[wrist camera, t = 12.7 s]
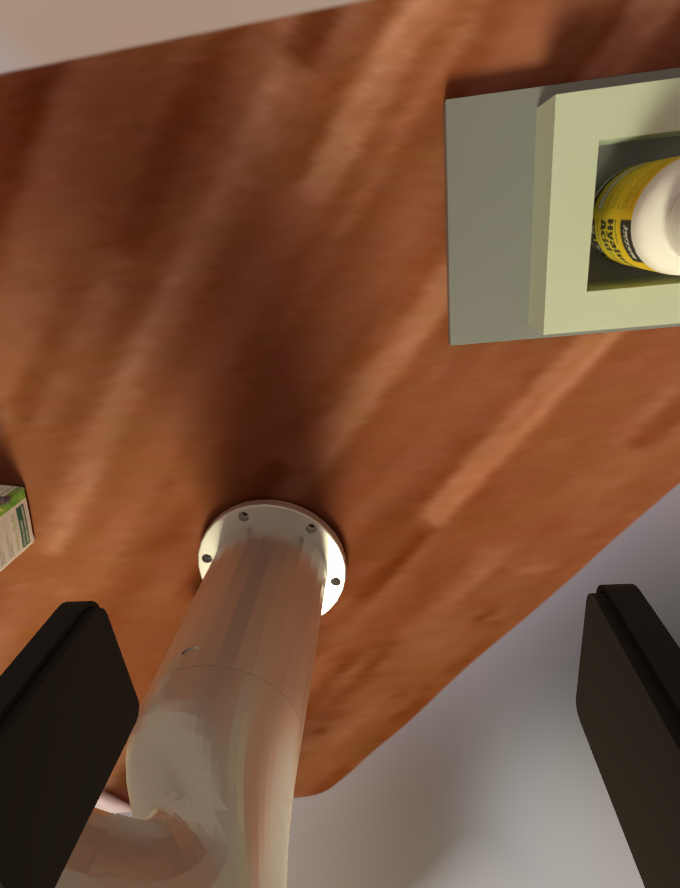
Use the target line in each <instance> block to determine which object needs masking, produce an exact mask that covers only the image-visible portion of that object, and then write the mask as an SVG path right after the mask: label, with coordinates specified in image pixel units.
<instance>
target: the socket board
mask: <svg viewBox="0 0 680 888" xmlns="http://www.w3.org/2000/svg"><path fill="white" fill-rule="evenodd" d="M443 105H444V152H445V199H446V247H447V294H448V341H449V344H450V345H463V344H475V343H486V342H498V341H510V340H522V339H534V338H546V337H557V336H569V335H581V334H593V333H605V332H616V331H628V330H640V329H652V328H664V327H675V326H680V275H668V274H663V273H658V272H654V271H650V270H646V269H640V268H637V267H632V266H628V265H623V264H619V263H615V262H612V261H609V260H607V259H605V258H604V257H602V256H601V255H600V254H598V253H597V252H596V250H595V249H594V248H593V246H592V245H591V232H592V220H593V208H594V196H595V195H596V193H597V192H598V190H599V189H600V187H601V186H602V185H603V184H604V183H605V182H606V181H607V180H608V179H609V178H610V177H612V176H613V175H614V174H616V173H617V172H619V171H621V170H623V169H625V168H627V167H630V166H633V165H636V164H640V163H645V162H651V161H656V160H661V159H667V158H672V157H677V156H680V67H679V68H672V69H664V70H657V71H650V72H643V73H635V74H628V75H621V76H614V77H606V78H599V79H592V80H585V81H577V82H570V83H563V84H556V85H548V86H541V87H534V88H527V89H520V90H512V91H505V92H498V93H491V94H483V95H476V96H469V97H462V98H454V99H447V100H445V102H444V104H443Z"/></svg>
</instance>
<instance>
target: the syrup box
mask: <svg viewBox="0 0 680 888" xmlns="http://www.w3.org/2000/svg"><path fill="white" fill-rule="evenodd" d="M34 540H35V539H34V535H33V532H32V526H31V520H30V515H29V510H28V505H27V500H26V496H25V490H24V488H23V487H18V486H9V485H0V571H2V570H3V569H4V568H5V567H6V566H7V565H8V564H9V563H10V562H12V561H13V560H14V559H15V558H16V557H17V556H18V555H19V554H21V553H22V552H23V551H24V550H25V549H26V548H28V547H29V546H30V545H31V544H32V543H33V542H34Z"/></svg>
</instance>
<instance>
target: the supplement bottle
mask: <svg viewBox="0 0 680 888" xmlns="http://www.w3.org/2000/svg"><path fill="white" fill-rule="evenodd" d="M591 245H592V246H593V248H594V249H595V250H596V252H597V253H598V254H600V255H601V256H602V257H604V258H605V259H607V260H609V261H612V262H615V263H619V264H623V265H628V266H632V267H637V268H640V269H646V270H650V271H654V272H658V273H663V274H668V275H680V156H677V157H672V158H667V159H661V160H656V161H651V162H645V163H640V164H636V165H633V166H630V167H627V168H625V169H623V170H621V171H619V172H617V173H616V174H614V175H613V176H612V177H610V178H609V179H608V180H607V181H606V182H605V183H604V184H603V185H602V186H601V187H600V189H599V190H598V192H597V193H596V195H595V196H594V208H593V220H592V232H591Z"/></svg>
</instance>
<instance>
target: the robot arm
mask: <svg viewBox="0 0 680 888" xmlns="http://www.w3.org/2000/svg"><path fill="white" fill-rule="evenodd" d="M311 524H313V525H311ZM198 566H199V571H200V575H201V578H202V582H201V584H200V586H199V588H198V590H197V592H196V594H195V596H194V598H193V600H192V602H191V604H190V606H189V608H188V610H187V612H186V614H185V616H184V618H183V620H182V622H181V624H180V626H179V628H178V630H177V632H176V634H175V636H174V638H173V640H172V642H171V644H170V646H169V648H168V650H167V652H166V654H165V656H164V658H163V660H162V662H161V664H160V666H159V668H158V670H157V672H156V674H155V676H154V678H153V680H152V682H151V684H150V686H149V688H148V690H147V692H146V694H145V696H144V698H143V700H142V702H141V704H140V706H139V701H138V698H137V696H136V693H135V690H134V687H133V684H132V682H131V679H130V676H129V673H128V671H127V668H126V665H125V662H124V659H123V657H122V654H121V651H120V648H119V646H118V643H117V640H116V637H115V635H114V632H113V629H112V626H111V623H110V621H109V618H108V615H107V613H106V611H105V610H104V609H103V608H100V607H99V605H98V604H97V603H96V602H94V601H78V602H65V603H62V604H61V605H60V606H59V607H58V608H57V609H56V610H55V612H54V613H53V614H52V615H51V616H50V618H49V619H48V620H47V621H46V622H45V624H44V625H43V626H42V627H41V628H40V630H39V631H38V632H37V633H36V634H35V636H34V637H33V638H32V639H31V640H30V641H29V643H28V644H27V645H26V646H25V647H24V649H23V650H22V651H21V652H20V653H19V655H18V656H17V657H16V658H15V659H14V661H13V662H12V663H11V664H10V665H9V667H8V668H7V669H6V670H5V671H4V673H3V674H2V675H1V676H0V888H287V861H288V843H289V832H290V822H291V811H292V802H293V796H294V788H295V781H296V774H297V767H298V760H299V754H300V747H301V741H302V734H303V729H304V723H305V716H306V710H307V704H308V697H309V691H310V684H311V678H312V671H313V665H314V659H315V652H316V646H317V639H318V633H319V626H320V620H321V616H322V615H323V614H325V613H326V612H327V611H329V610H330V609H331V608H332V606H333V605H334V604H335V603H336V602H337V601H338V599H339V597H340V595H341V593H342V591H343V588H344V584H345V580H346V571H347V565H346V556H345V553H344V549H343V546H342V544H341V542H340V540H339V539H338V537H337V535H336V533H335V532H334V531H333V530H332V529H331V528H330V527H329V525H328V524H327V523H326V522H324V521H323V520H322V519H321V518H319V517H318V516H317V515H316V514H314V513H312V512H310V511H309V510H307V509H305V508H303V507H301V506H298V505H295V504H292V503H289V502H284V501H279V500H254V501H247V502H244V503H241V504H238V505H235V506H233V507H231V508H229V509H228V510H226V511H224V512H223V513H221V514H220V515H219V516H218V517H217V518H216V519H215V520H214V521H213V522H212V523H211V525H210V526H209V528H208V529H207V531H206V533H205V535H204V537H203V539H202V541H201V543H200V548H199V552H198ZM576 705H577V712H578V716H579V719H580V722H581V724H582V727H583V730H584V732H585V735H586V737H587V740H588V743H589V745H590V748H591V750H592V753H593V755H594V758H595V761H596V763H597V766H598V768H599V771H600V773H601V776H602V778H603V781H604V784H605V786H606V789H607V791H608V794H609V796H610V799H611V802H612V804H613V806H614V809H615V811H616V814H617V817H618V819H619V822H620V825H621V827H622V830H623V832H624V835H625V837H626V840H627V843H628V845H629V848H630V850H631V853H632V855H633V858H634V860H635V863H636V866H637V868H638V871H639V873H640V876H641V878H642V881H643V883H644V886H645V888H680V648H679V647H678V645H677V644H676V642H675V641H674V639H673V638H672V636H671V635H670V634H669V632H668V631H667V629H666V628H665V626H664V625H663V623H662V622H661V621H660V619H659V617H658V616H657V615H656V613H655V612H654V610H653V609H652V607H651V606H650V605H649V603H648V602H647V600H646V599H645V597H644V596H643V595H642V593H641V591H640V590H639V589H638V588H637V586H636V585H633V584H612V585H599V586H598V588H597V591H596V593H591V594H588V596H587V600H586V609H585V619H584V629H583V638H582V647H581V656H580V666H579V676H578V684H577V694H576ZM127 740H128V742H127ZM126 742H127V751H126V778H127V787H128V793H129V800H130V805H131V810H132V815H133V818H132V817H128V816H125V815H121V814H118V813H117V814H116V815H115V814H112V813H109V812H106V811H103V810H100V809H97V808H94V807H95V805H96V803H97V801H98V799H99V797H100V795H101V793H102V791H103V789H104V787H105V785H106V783H107V781H108V779H109V777H110V775H111V773H112V770H113V768H114V766H115V764H116V762H117V760H118V758H119V756H120V754H121V752H122V750H123V748H124V746H125V744H126Z"/></svg>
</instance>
